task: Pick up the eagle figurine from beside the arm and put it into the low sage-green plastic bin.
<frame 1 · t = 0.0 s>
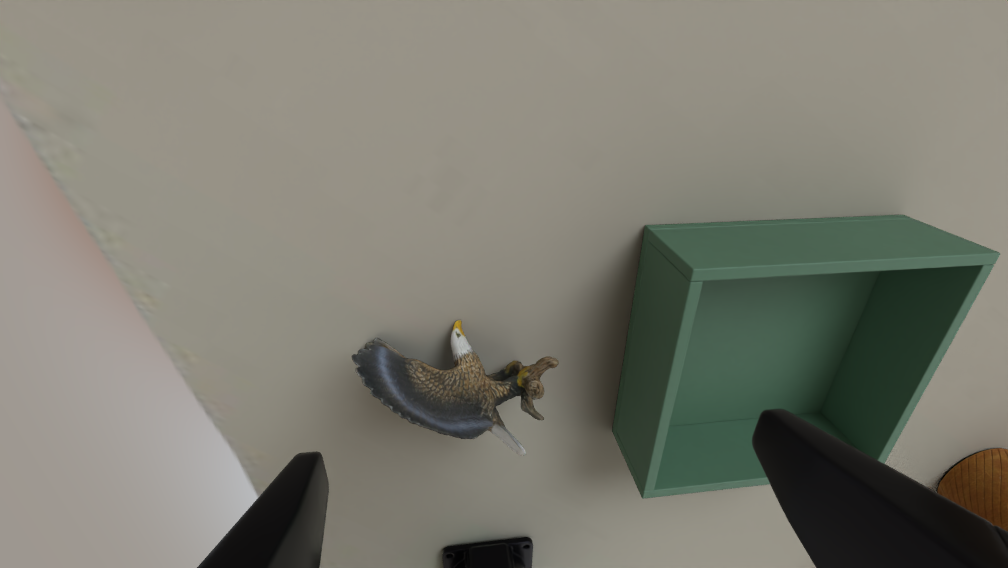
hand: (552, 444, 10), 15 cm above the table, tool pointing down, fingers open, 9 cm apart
disposable coffee cup: (972, 473, 39), on the table
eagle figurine: (449, 351, 26), on the table
bin: (744, 332, 28), on the table
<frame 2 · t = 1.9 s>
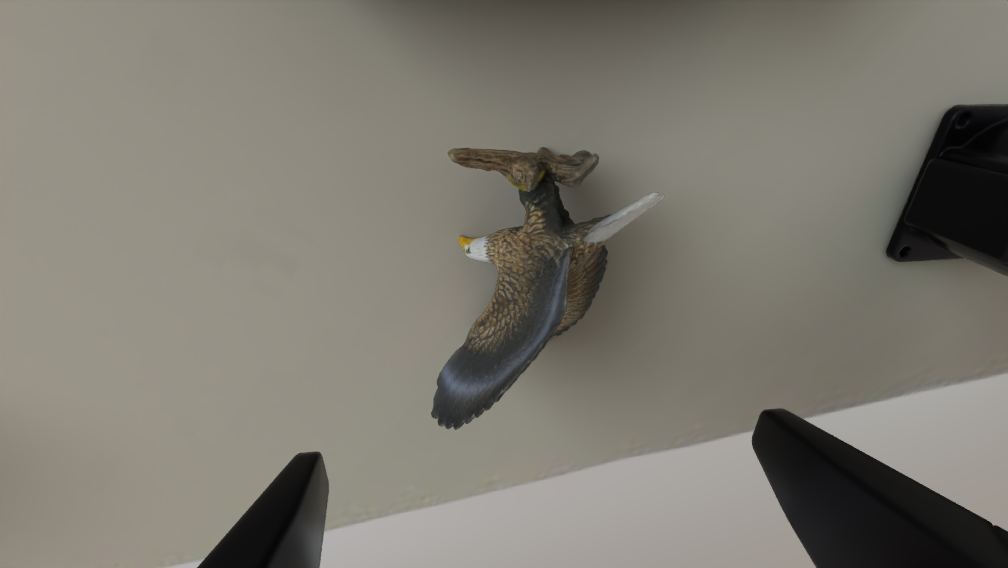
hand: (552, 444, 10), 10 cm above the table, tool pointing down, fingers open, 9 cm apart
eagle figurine: (512, 248, 19), on the table
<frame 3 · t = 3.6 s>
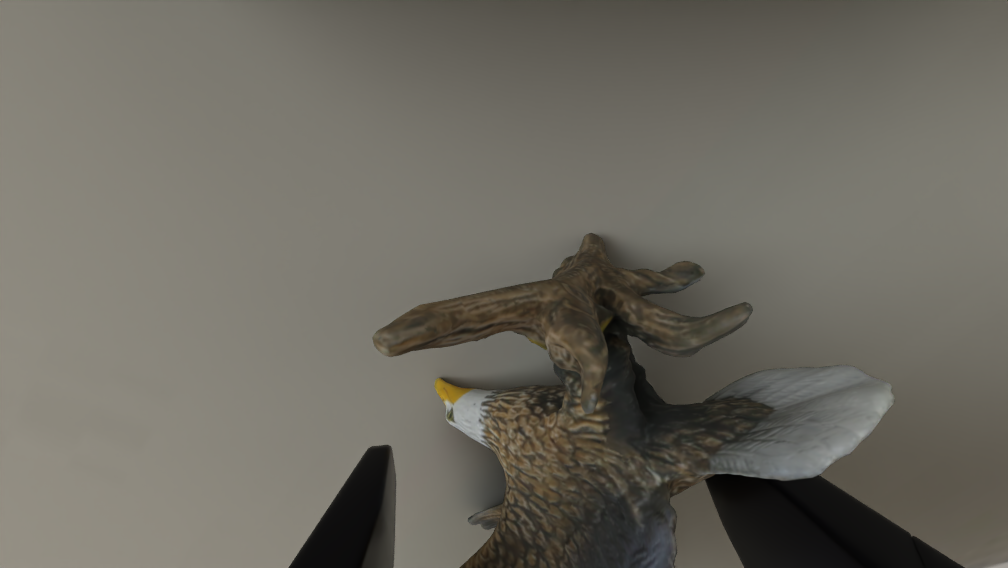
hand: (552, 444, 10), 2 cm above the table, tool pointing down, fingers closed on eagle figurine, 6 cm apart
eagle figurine: (529, 389, 11), on the table, touching gripper
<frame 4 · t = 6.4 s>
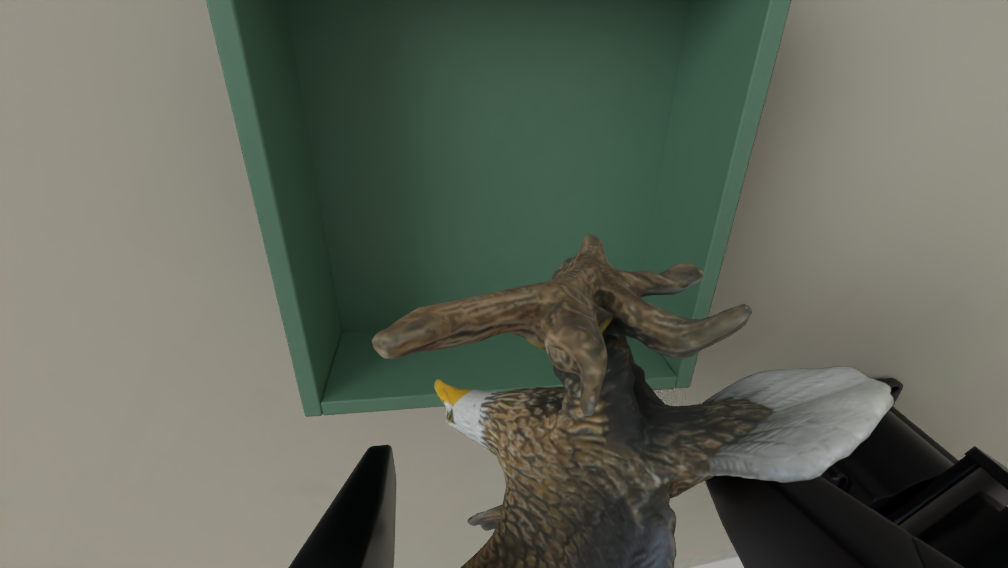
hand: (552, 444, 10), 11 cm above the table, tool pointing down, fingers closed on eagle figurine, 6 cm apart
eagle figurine: (528, 390, 11), point 10 cm above the table, touching gripper
bin: (493, 166, 18), on the table
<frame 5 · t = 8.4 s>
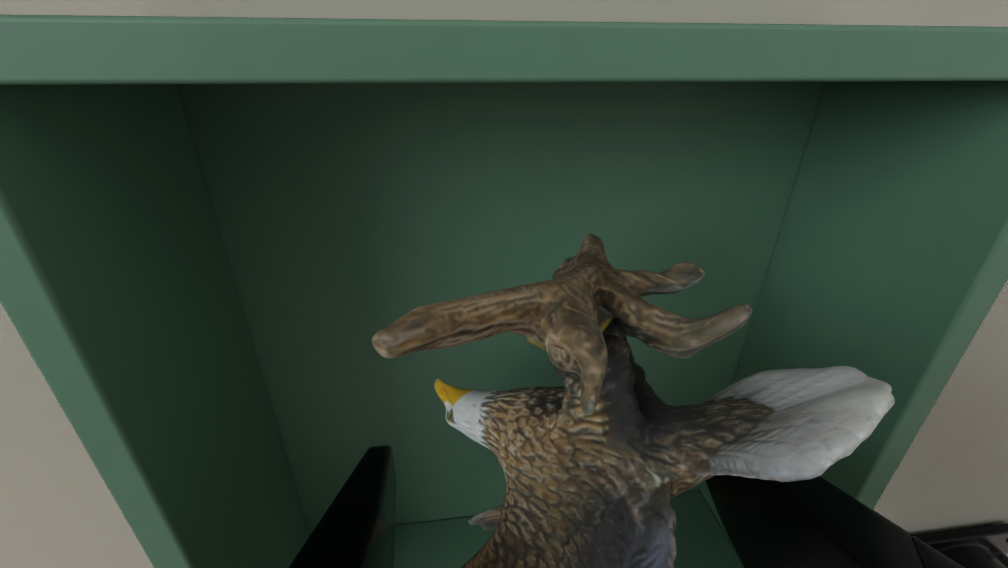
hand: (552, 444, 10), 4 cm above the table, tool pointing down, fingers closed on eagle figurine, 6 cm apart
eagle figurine: (528, 389, 11), point 2 cm above the table, touching gripper
bin: (516, 330, 13), on the table
when the fingers open (2 cm above the table, at t = 9.5 s): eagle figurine stays where it is, resting on bin.
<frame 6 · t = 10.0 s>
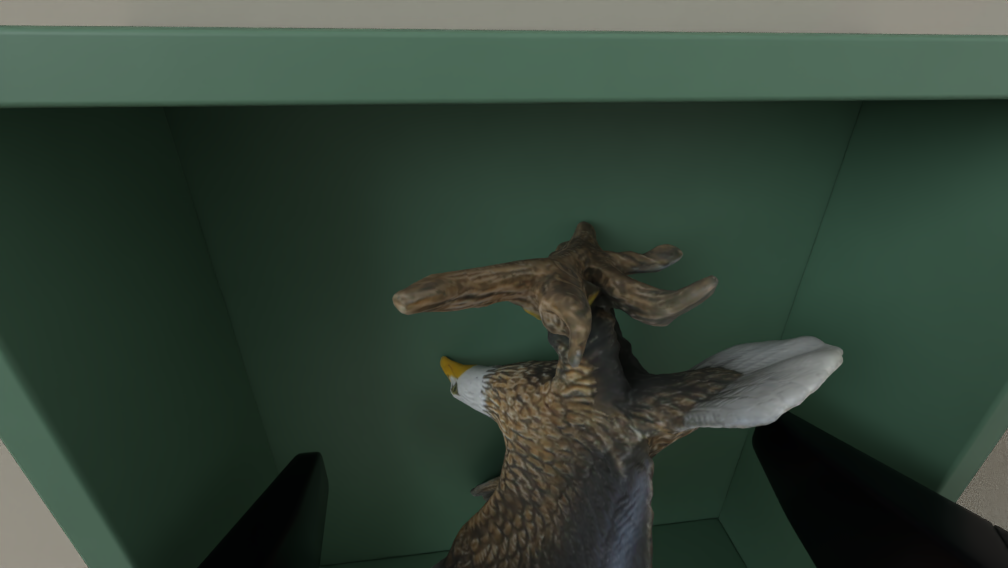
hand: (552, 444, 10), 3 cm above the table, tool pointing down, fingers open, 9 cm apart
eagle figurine: (527, 368, 12), resting on bin
bin: (527, 354, 12), on the table
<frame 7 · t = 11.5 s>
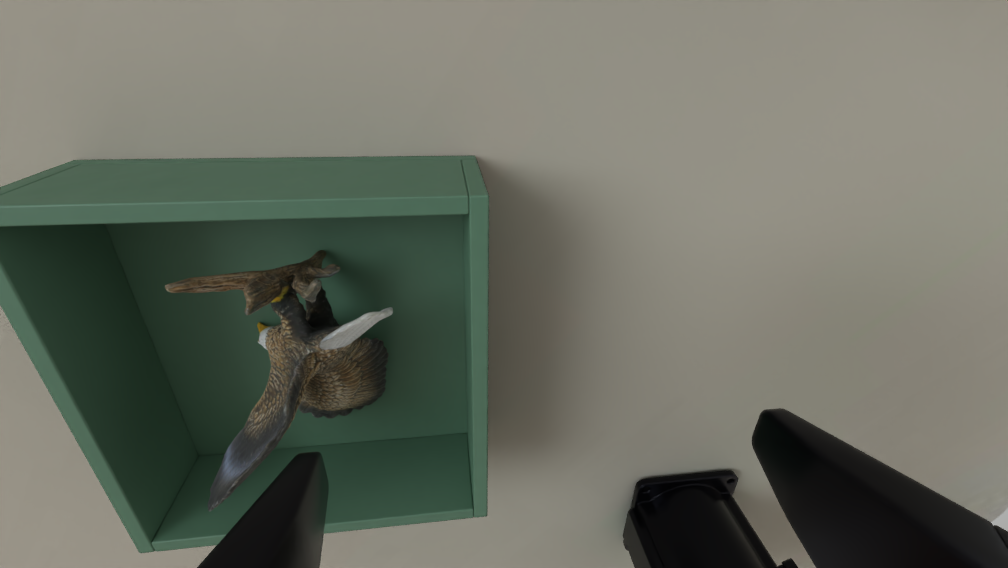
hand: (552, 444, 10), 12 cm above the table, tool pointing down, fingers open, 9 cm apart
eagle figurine: (314, 330, 21), resting on bin
bin: (317, 323, 21), on the table
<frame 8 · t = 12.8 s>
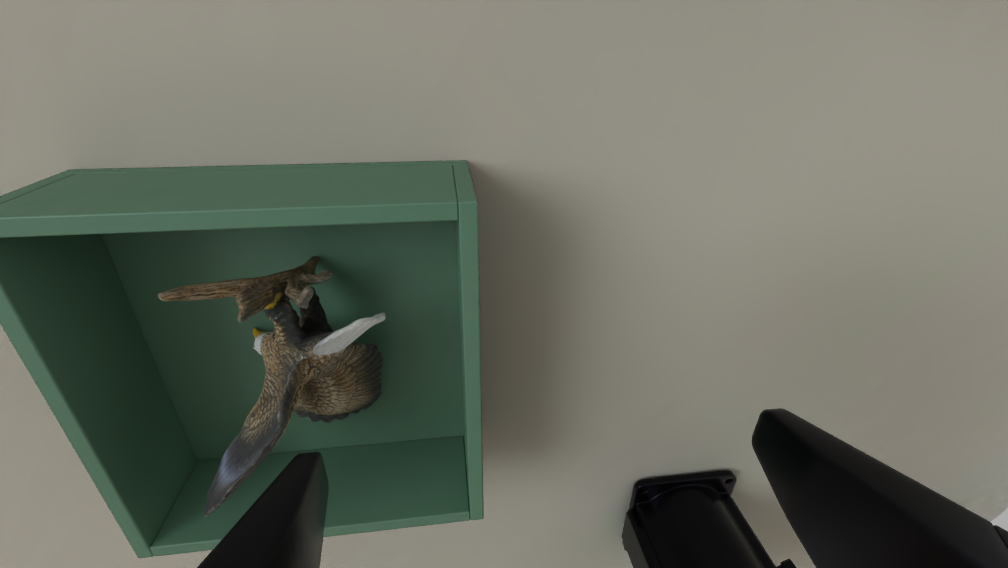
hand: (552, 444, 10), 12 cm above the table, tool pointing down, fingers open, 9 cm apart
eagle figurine: (309, 335, 21), resting on bin
bin: (313, 328, 21), on the table
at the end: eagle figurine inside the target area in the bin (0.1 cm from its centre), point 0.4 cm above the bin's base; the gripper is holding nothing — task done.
